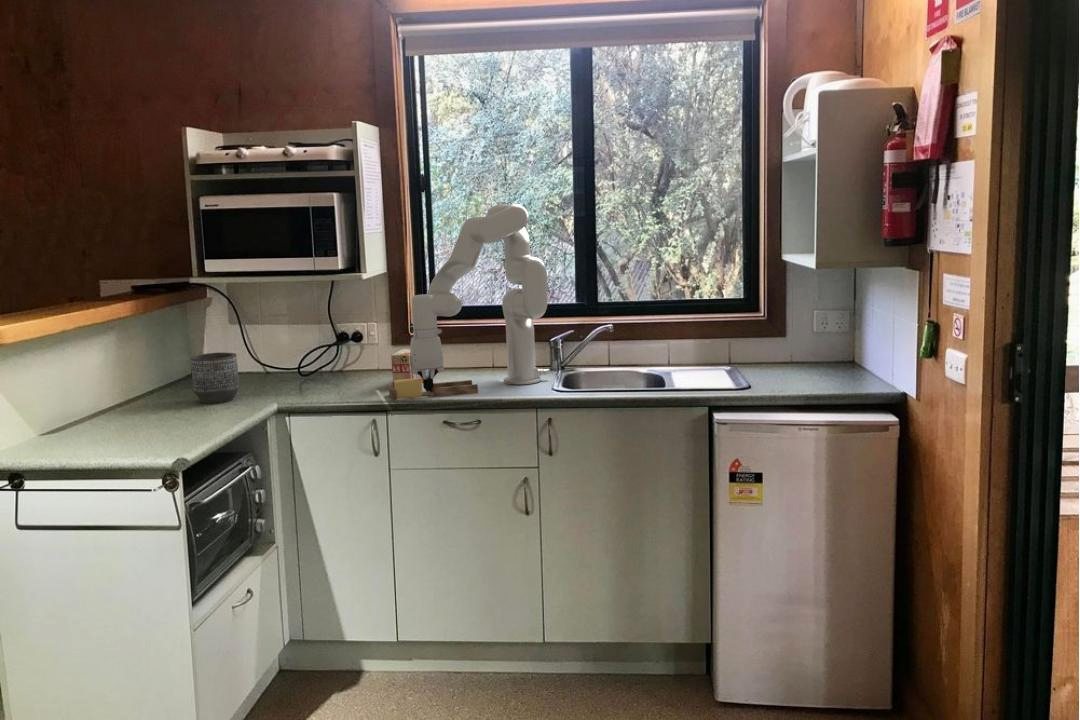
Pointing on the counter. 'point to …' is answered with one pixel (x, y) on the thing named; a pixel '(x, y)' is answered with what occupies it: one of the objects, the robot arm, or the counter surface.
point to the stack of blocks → (403, 366)
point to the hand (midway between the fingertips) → (428, 390)
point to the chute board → (443, 389)
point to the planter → (215, 377)
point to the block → (408, 388)
